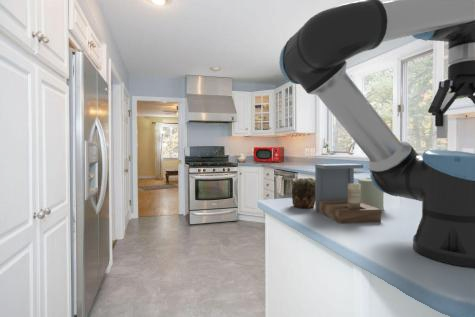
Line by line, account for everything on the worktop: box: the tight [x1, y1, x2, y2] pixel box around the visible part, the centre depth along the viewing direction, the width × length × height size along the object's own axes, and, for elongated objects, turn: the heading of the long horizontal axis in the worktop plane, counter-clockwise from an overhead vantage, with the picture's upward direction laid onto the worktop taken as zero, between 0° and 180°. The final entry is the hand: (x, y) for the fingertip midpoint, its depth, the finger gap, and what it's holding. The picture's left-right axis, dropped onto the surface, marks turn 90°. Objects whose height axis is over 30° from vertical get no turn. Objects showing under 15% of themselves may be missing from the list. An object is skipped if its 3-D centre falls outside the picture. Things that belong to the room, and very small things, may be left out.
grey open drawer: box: [314, 163, 364, 212], centre depth 102 cm, size 8×15×18 cm, turn 96°
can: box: [357, 177, 385, 212], centre depth 107 cm, size 9×9×12 cm
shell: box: [291, 177, 315, 209], centre depth 112 cm, size 11×11×12 cm
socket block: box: [318, 200, 382, 224], centre depth 96 cm, size 17×14×4 cm
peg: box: [348, 183, 360, 210], centre depth 91 cm, size 4×4×12 cm
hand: (463, 138), depth 77 cm, fingers open, 13 cm apart
